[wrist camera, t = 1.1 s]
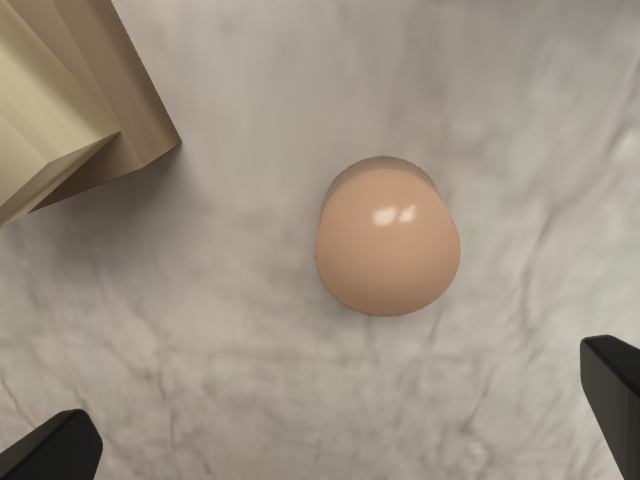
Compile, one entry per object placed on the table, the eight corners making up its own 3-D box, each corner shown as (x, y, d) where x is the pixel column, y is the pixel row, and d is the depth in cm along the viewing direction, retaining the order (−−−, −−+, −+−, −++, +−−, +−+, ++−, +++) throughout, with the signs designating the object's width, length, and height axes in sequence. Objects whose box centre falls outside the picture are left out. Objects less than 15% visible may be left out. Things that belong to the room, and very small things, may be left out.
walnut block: (106, -12, 17) (40, -22, 14) (183, 140, 19) (143, 167, 16) (-20, 52, 19) (-112, 58, 15) (65, 188, 21) (3, 222, 17)
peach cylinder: (434, 145, 19) (453, 174, 15) (446, 257, 21) (466, 306, 17) (311, 168, 19) (301, 200, 16) (334, 273, 21) (330, 324, 18)
